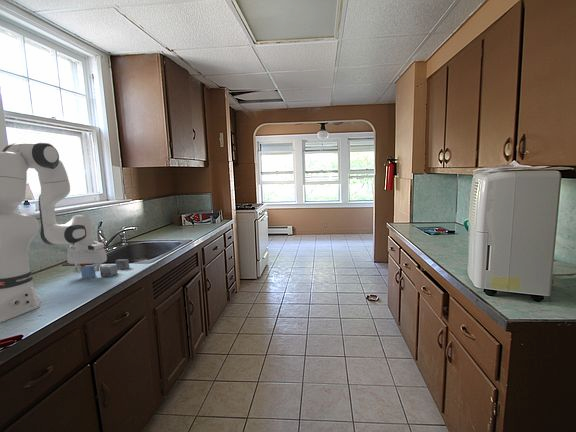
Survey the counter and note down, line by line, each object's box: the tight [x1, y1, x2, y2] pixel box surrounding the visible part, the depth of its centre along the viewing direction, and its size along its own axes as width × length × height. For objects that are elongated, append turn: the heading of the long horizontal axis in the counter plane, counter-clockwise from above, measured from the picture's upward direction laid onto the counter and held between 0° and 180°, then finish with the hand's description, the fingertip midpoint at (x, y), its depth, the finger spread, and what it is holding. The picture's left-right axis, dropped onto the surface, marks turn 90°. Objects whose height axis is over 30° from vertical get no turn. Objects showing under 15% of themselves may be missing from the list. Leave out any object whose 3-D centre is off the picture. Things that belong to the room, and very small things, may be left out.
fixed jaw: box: [115, 258, 130, 270], centre depth 180 cm, size 3×6×5 cm, turn 83°
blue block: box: [81, 264, 97, 280], centre depth 167 cm, size 4×5×6 cm
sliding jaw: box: [99, 263, 118, 277], centre depth 169 cm, size 6×6×5 cm
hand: (88, 271), depth 167 cm, fingers open, 8 cm apart
